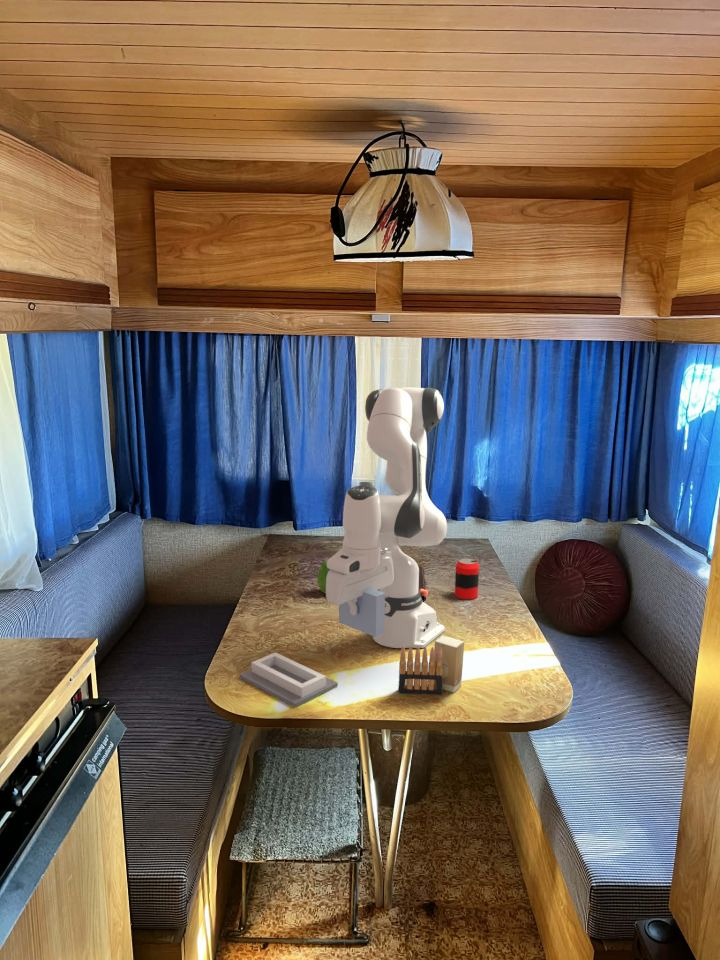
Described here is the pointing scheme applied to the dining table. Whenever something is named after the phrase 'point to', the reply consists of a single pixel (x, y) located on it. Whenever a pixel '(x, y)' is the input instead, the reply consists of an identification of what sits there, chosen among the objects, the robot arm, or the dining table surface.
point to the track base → (287, 679)
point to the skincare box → (450, 662)
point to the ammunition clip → (420, 673)
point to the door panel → (366, 613)
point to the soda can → (466, 579)
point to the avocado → (323, 576)
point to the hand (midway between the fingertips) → (361, 611)
